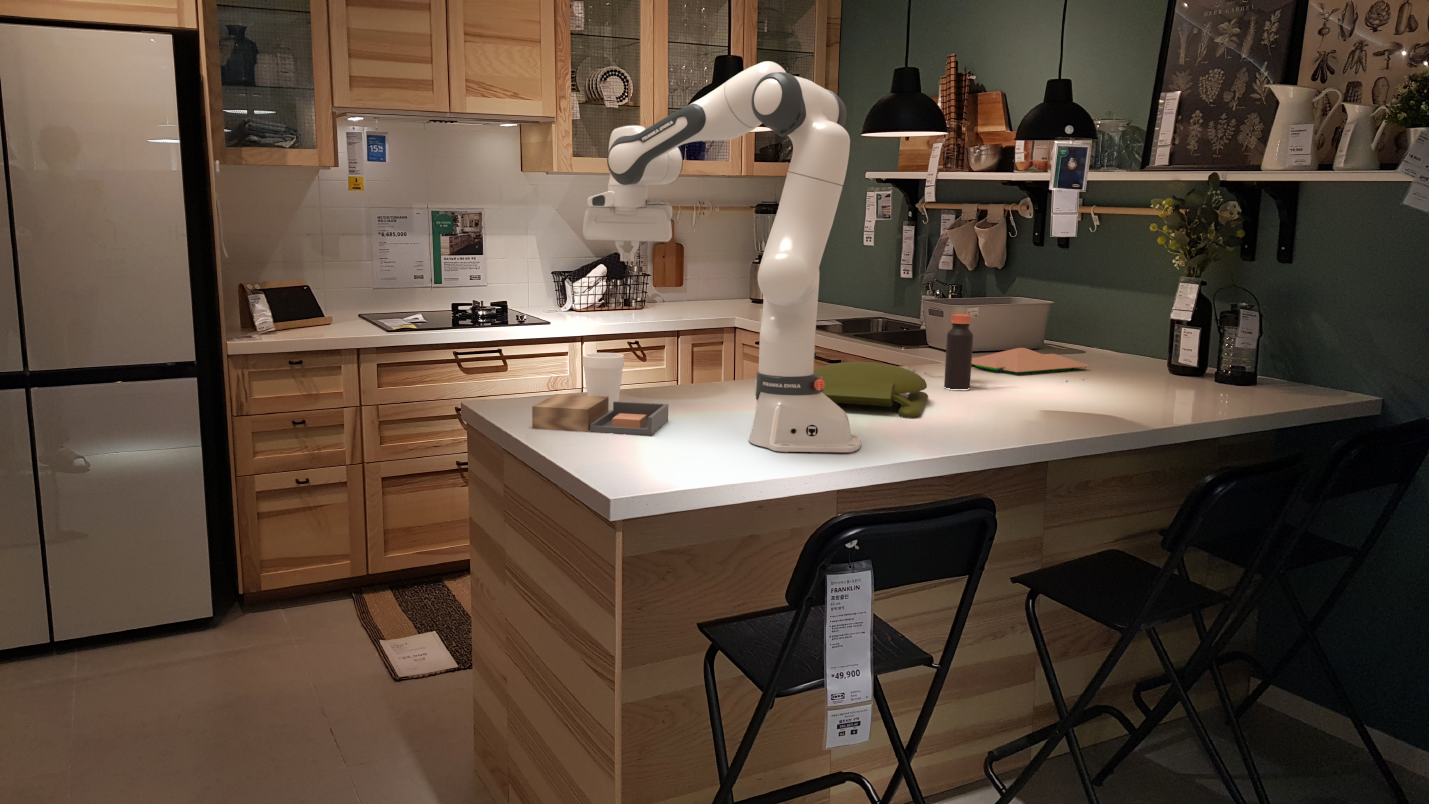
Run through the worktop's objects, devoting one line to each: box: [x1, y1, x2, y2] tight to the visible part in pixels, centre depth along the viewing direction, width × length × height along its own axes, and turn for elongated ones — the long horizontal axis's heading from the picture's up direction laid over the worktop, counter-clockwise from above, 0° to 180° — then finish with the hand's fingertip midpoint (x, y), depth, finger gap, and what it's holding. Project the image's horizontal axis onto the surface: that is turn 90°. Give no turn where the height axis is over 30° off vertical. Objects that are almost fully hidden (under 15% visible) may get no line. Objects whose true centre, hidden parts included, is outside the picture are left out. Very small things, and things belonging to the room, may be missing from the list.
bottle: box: [943, 313, 974, 389], centre depth 287 cm, size 7×7×20 cm
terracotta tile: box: [612, 413, 647, 428], centre depth 229 cm, size 6×6×2 cm
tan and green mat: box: [971, 347, 1090, 376], centre depth 321 cm, size 23×33×8 cm
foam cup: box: [582, 352, 625, 411], centre depth 246 cm, size 10×9×13 cm
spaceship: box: [814, 361, 929, 418], centre depth 266 cm, size 35×31×10 cm
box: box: [589, 401, 669, 437], centre depth 229 cm, size 13×16×4 cm
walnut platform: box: [531, 393, 609, 433], centre depth 231 cm, size 12×16×5 cm
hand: (627, 261), depth 246 cm, fingers closed
